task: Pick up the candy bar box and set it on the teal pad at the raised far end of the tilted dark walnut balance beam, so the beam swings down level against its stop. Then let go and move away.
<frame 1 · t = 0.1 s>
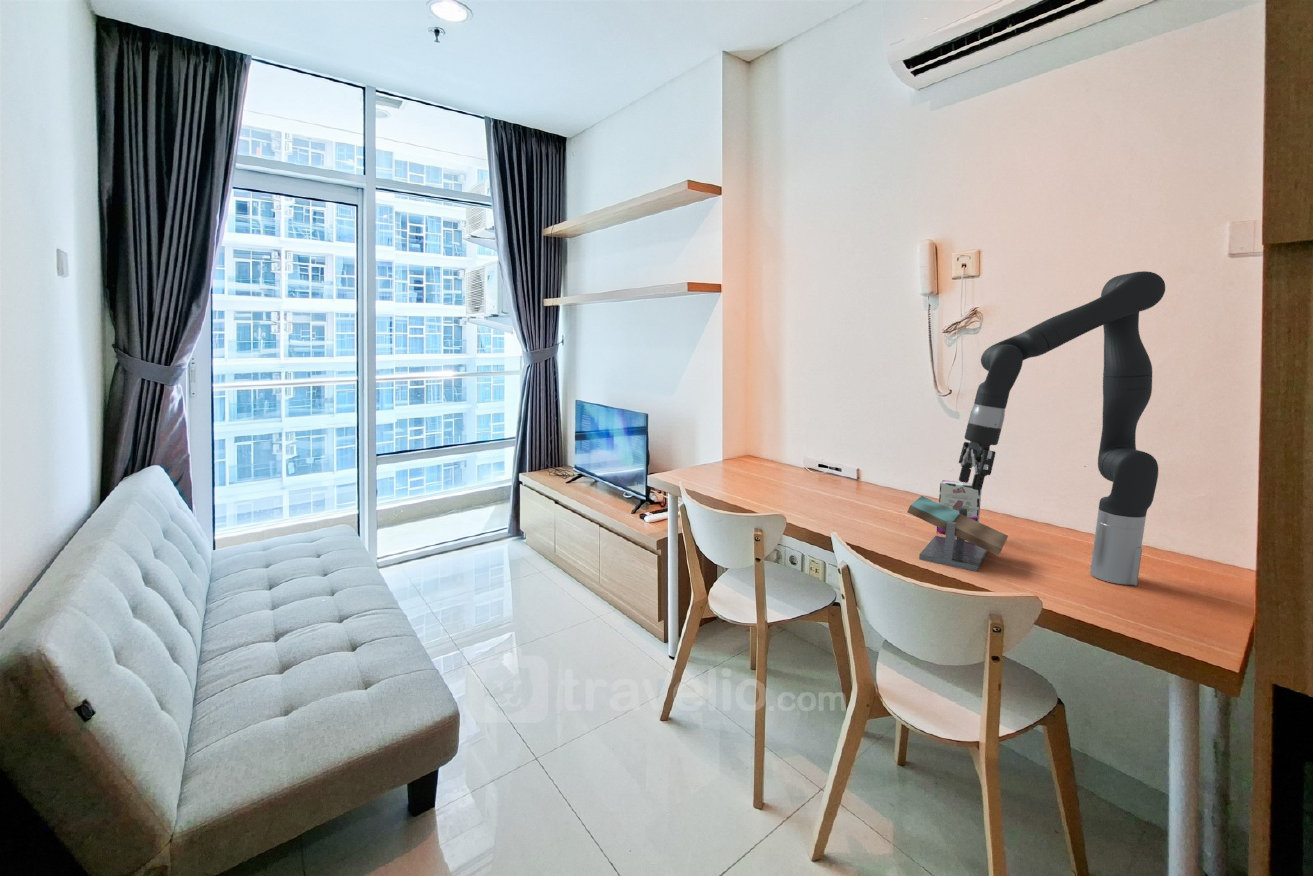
hand: (969, 485, 145), 22 cm above the table, tool pointing down, fingers open, 8 cm apart
beam stand: (954, 554, 159), on the table
candy bar box: (956, 534, 177), on the table
balance beam: (957, 523, 158), point 9 cm above the table, hinge at -18.0°
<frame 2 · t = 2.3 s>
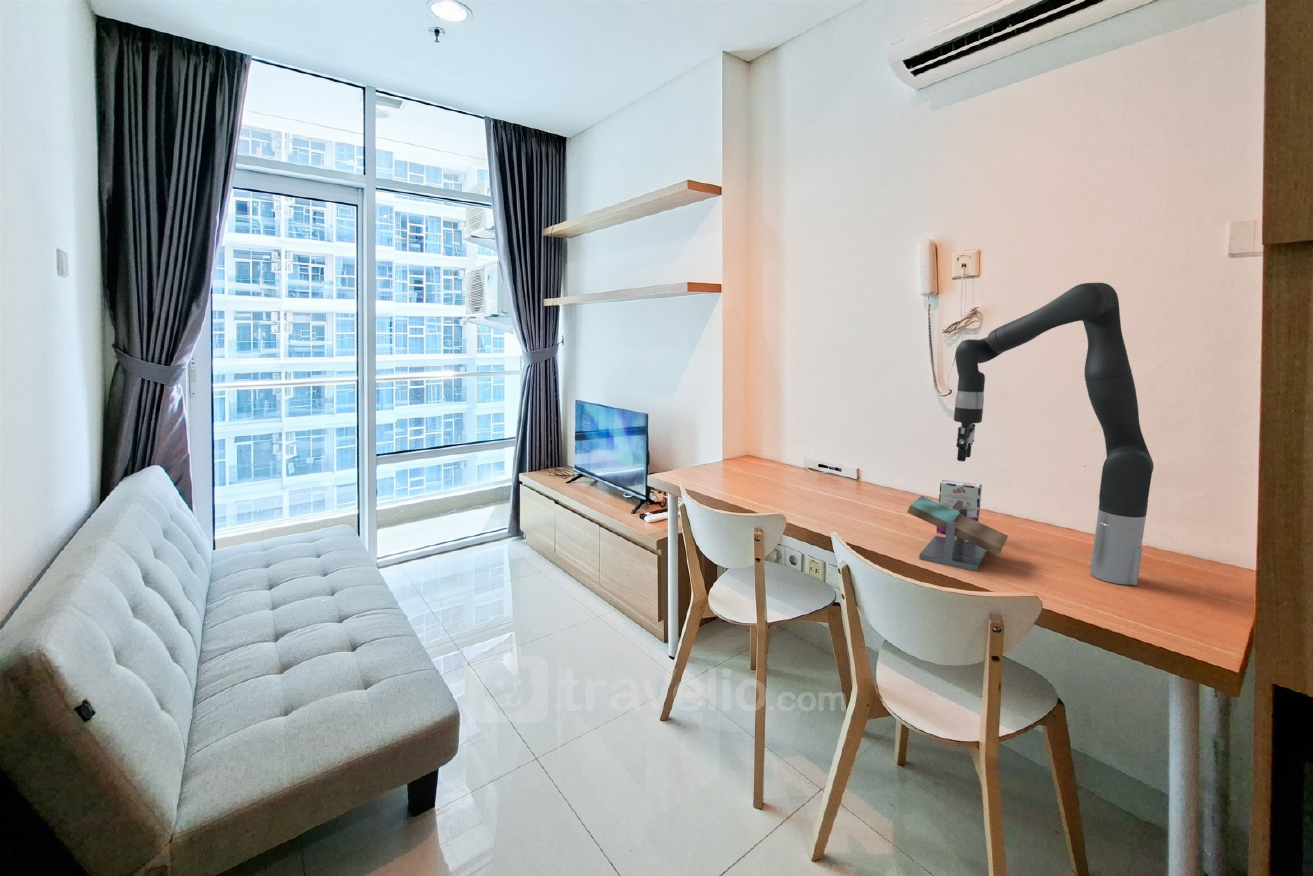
hand: (963, 459, 174), 24 cm above the table, tool pointing down, fingers open, 8 cm apart
nothing on the table moved.
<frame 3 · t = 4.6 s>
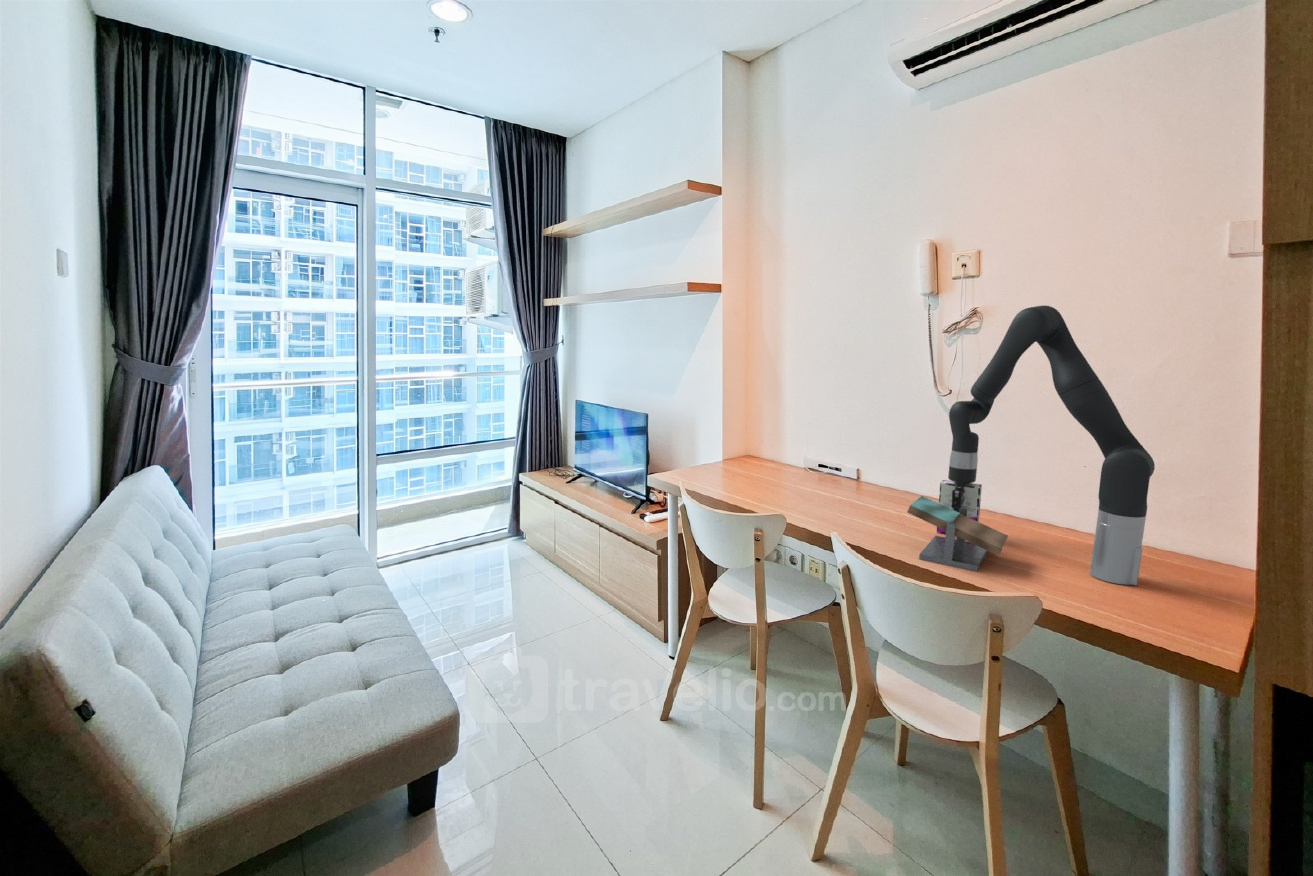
hand: (958, 518, 177), 5 cm above the table, tool pointing down, fingers closed on candy bar box, 5 cm apart
candy bar box: (956, 534, 177), on the table, touching gripper
everything else where it was.
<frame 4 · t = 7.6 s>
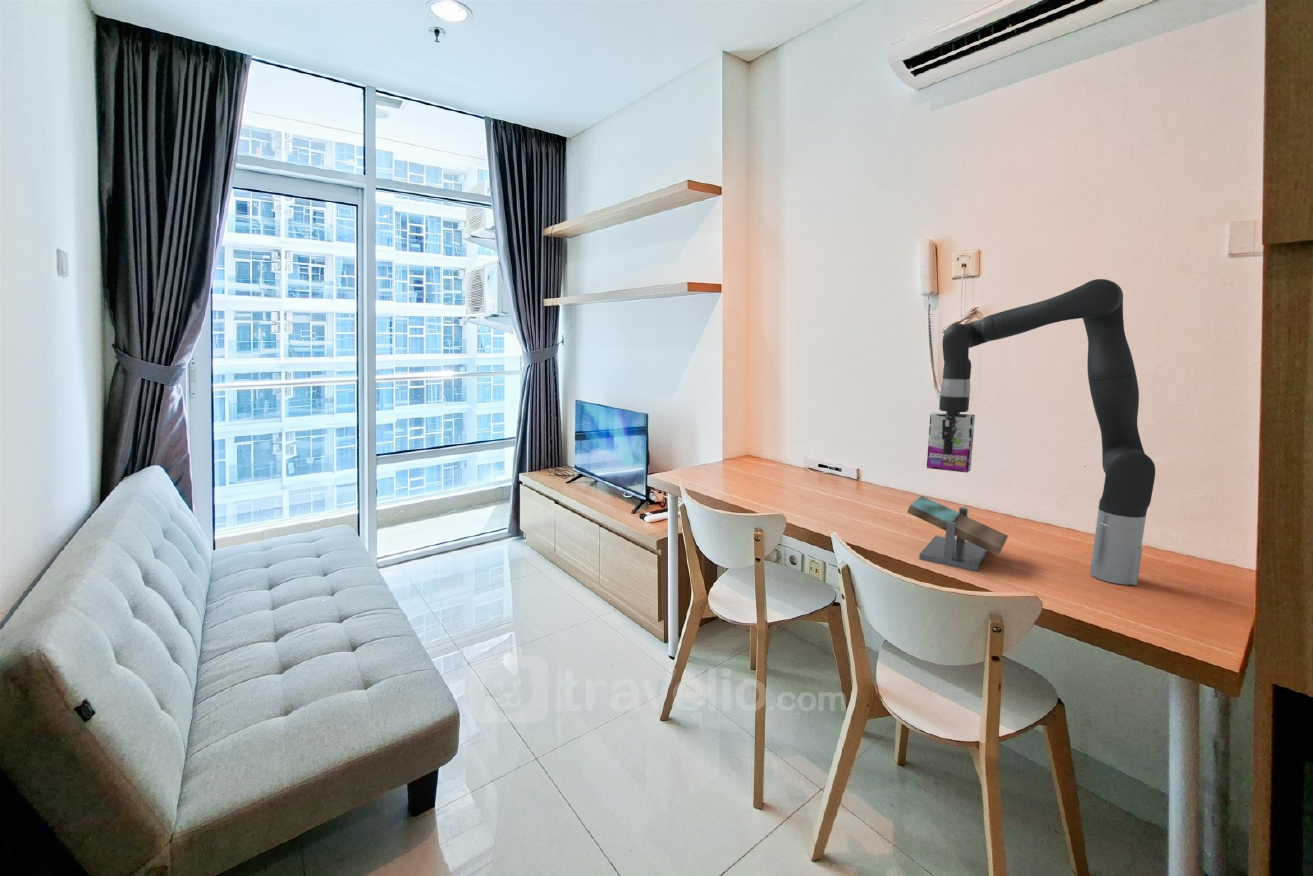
hand: (949, 452, 165), 27 cm above the table, tool pointing down, fingers closed on candy bar box, 5 cm apart
candy bar box: (948, 470, 166), point 22 cm above the table, touching gripper
everything else where it was.
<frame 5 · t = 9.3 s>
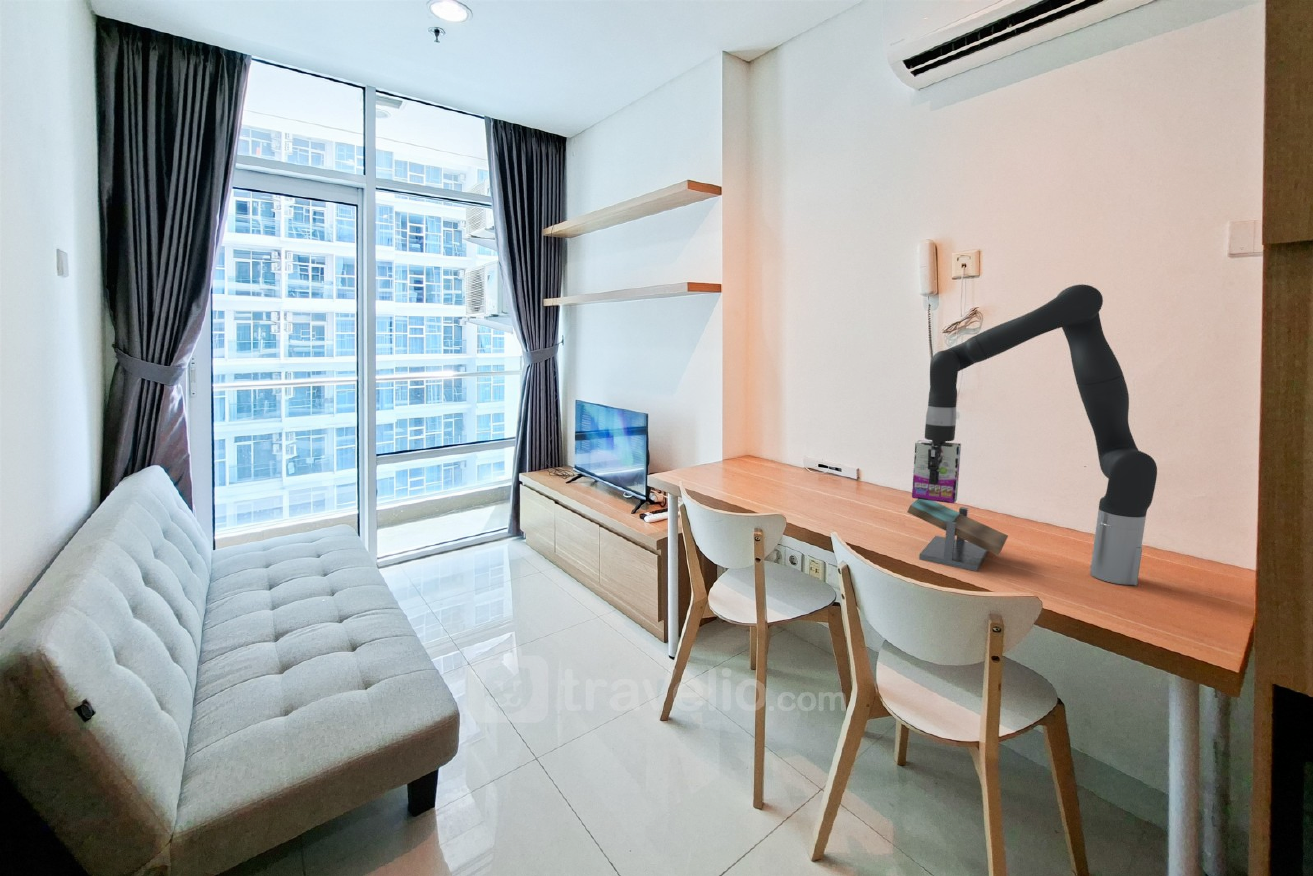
hand: (935, 482, 160), 20 cm above the table, tool pointing down, fingers closed on candy bar box, 5 cm apart
candy bar box: (933, 500, 161), point 15 cm above the table, touching gripper
everything else where it was.
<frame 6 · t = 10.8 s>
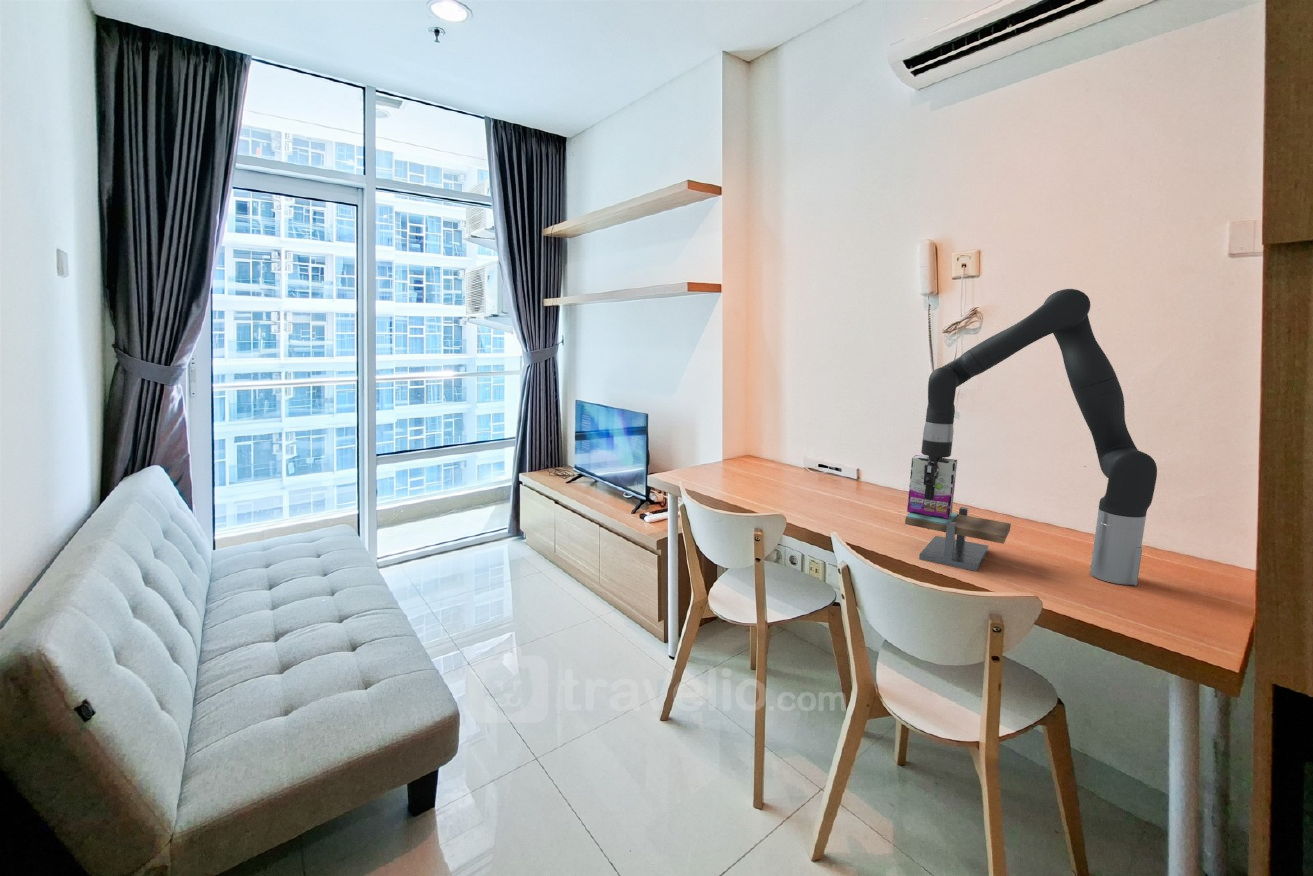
hand: (931, 497, 161), 15 cm above the table, tool pointing down, fingers closed on candy bar box, 5 cm apart
candy bar box: (928, 514, 162), point 10 cm above the table, touching balance beam, gripper
balance beam: (957, 523, 158), point 9 cm above the table, hinge at -1.0°, touching candy bar box
when the fingers open (15 cm above the table, at t = 10.8 s): candy bar box stays where it is, resting on balance beam.
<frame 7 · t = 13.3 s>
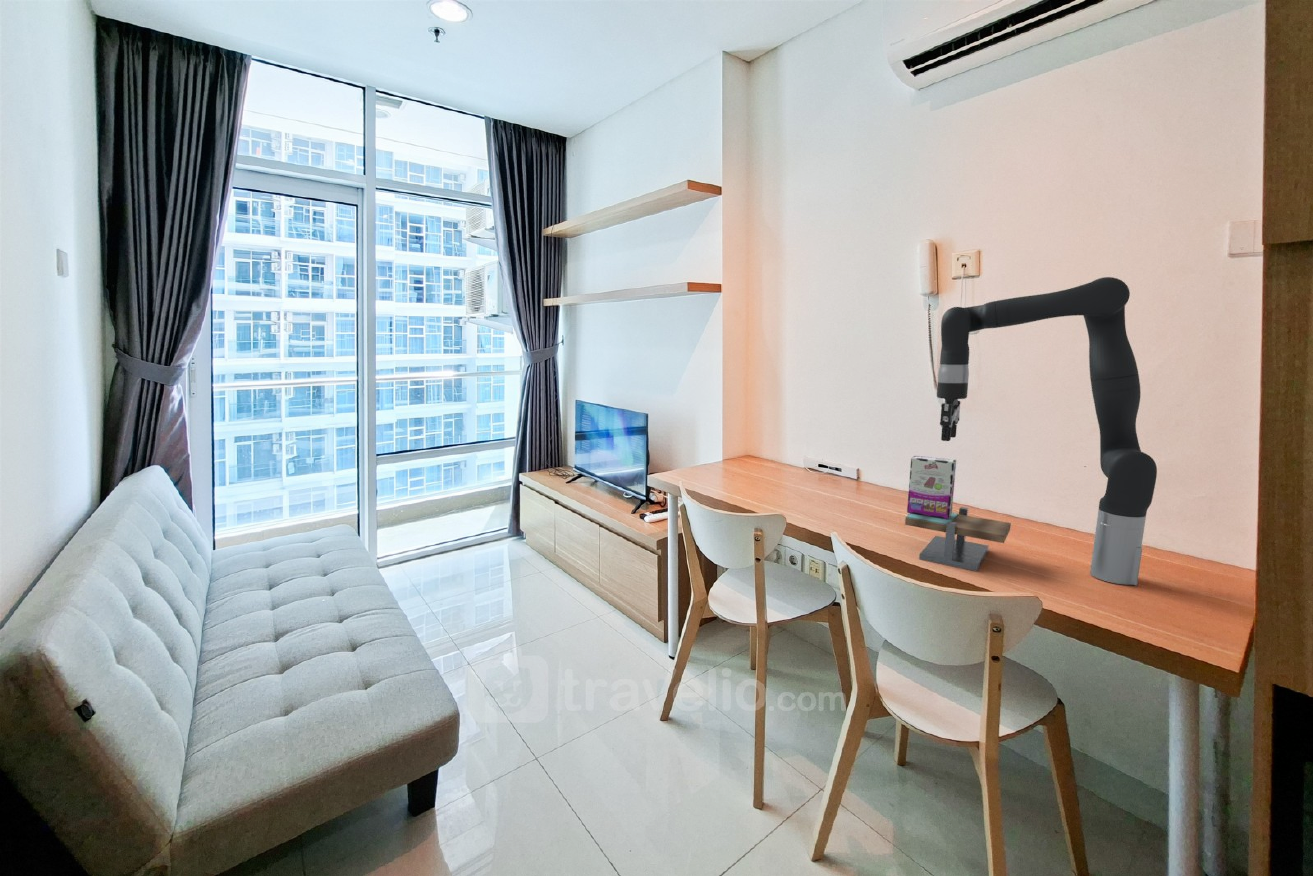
hand: (948, 438, 159), 32 cm above the table, tool pointing down, fingers open, 8 cm apart
candy bar box: (928, 515, 162), point 10 cm above the table, touching balance beam
balance beam: (957, 523, 158), point 9 cm above the table, hinge at -0.3°, touching candy bar box
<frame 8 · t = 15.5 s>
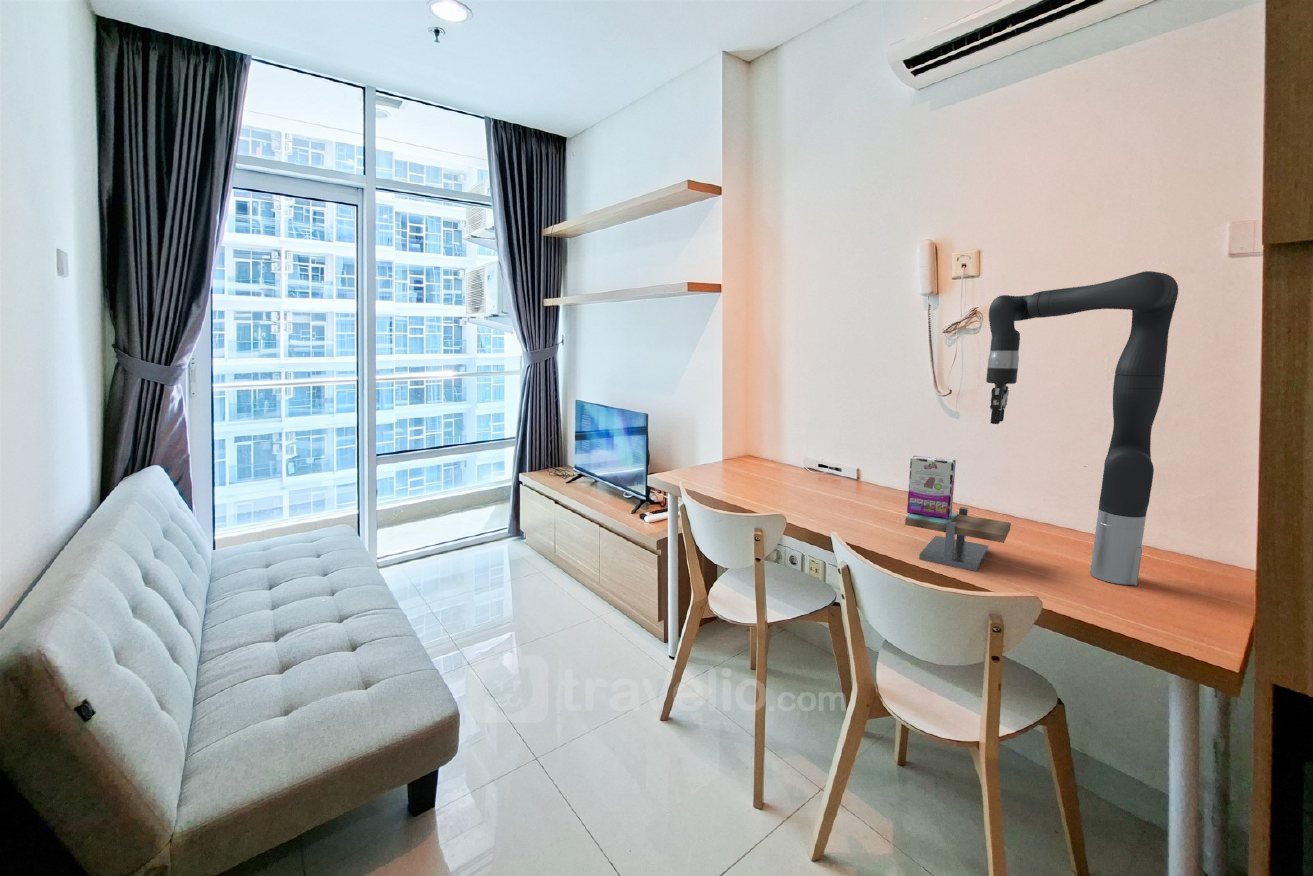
hand: (996, 422, 165), 36 cm above the table, tool pointing down, fingers open, 8 cm apart
balance beam: (957, 523, 158), point 9 cm above the table, hinge at 0.0°, touching candy bar box
everything else where it was.
at the end: balance beam at +0° (first picture: -18°); candy bar box inside the target area on the balance beam (0.9 cm from its centre), point 1.1 cm above the balance beam's base; candy bar box tilted 0° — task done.
